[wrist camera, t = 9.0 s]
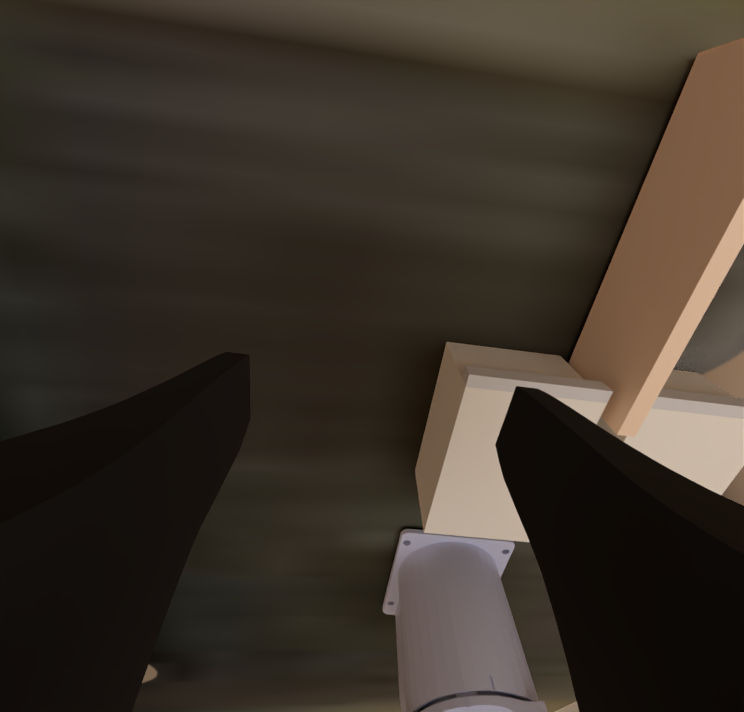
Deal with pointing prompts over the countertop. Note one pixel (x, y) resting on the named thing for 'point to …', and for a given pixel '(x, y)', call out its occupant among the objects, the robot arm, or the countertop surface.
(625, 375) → the thin wooden plank
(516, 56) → the countertop surface
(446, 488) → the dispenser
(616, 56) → the countertop surface
